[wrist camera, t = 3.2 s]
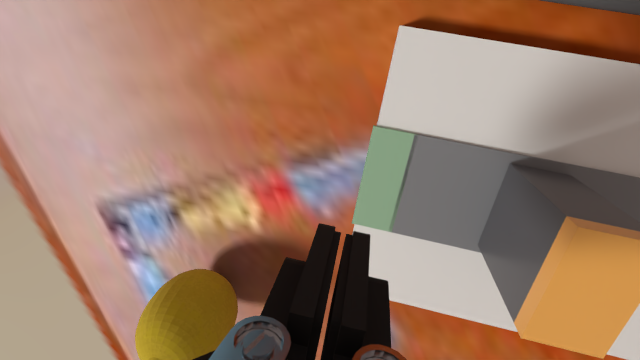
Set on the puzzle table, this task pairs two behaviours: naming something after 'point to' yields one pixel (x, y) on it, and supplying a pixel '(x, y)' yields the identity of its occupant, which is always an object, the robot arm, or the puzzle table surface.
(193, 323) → the lemon
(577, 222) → the toggle
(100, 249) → the puzzle table surface
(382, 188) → the panel
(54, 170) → the puzzle table surface
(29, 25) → the puzzle table surface
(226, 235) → the puzzle table surface
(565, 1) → the cords
